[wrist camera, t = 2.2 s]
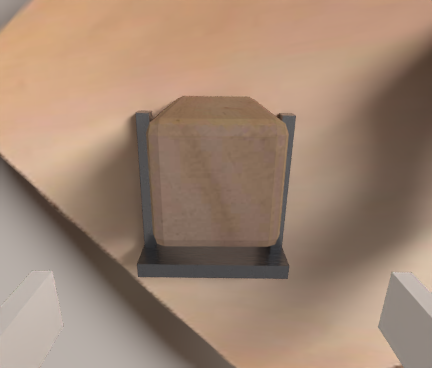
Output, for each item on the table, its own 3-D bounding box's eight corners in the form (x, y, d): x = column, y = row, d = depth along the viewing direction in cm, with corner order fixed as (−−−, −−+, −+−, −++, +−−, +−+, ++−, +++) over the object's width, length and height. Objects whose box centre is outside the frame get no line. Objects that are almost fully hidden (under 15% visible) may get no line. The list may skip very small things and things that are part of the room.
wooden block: (255, 96, 39) (293, 121, 21) (251, 171, 43) (281, 252, 24) (176, 95, 39) (141, 120, 20) (178, 171, 43) (151, 251, 24)
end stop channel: (137, 110, 40) (125, 117, 34) (293, 113, 40) (306, 120, 34) (147, 252, 47) (138, 276, 41) (278, 253, 47) (287, 278, 42)
